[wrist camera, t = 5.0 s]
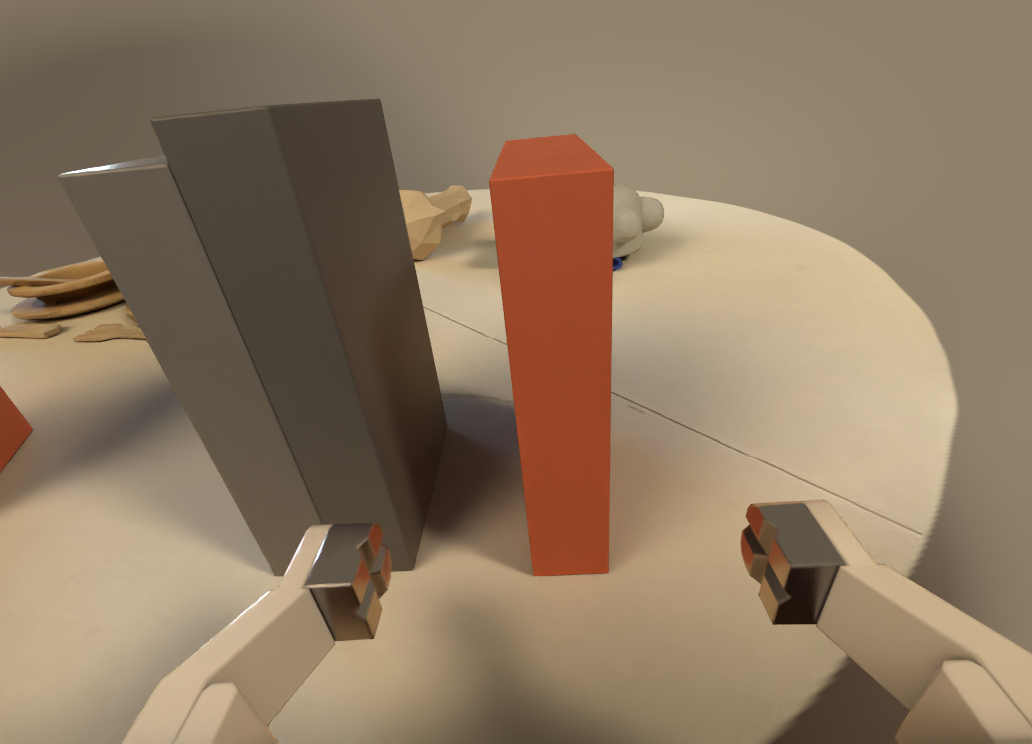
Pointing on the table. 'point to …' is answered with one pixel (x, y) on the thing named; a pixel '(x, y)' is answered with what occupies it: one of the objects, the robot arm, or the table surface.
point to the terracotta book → (559, 340)
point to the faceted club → (432, 216)
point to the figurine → (632, 220)
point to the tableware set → (66, 301)
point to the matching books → (11, 429)
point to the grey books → (282, 311)
